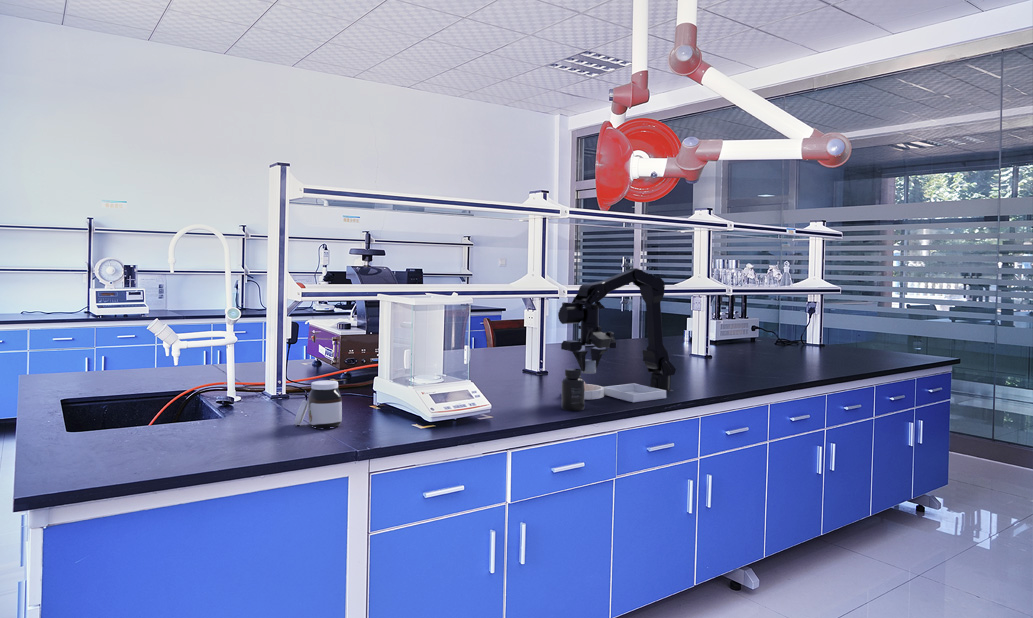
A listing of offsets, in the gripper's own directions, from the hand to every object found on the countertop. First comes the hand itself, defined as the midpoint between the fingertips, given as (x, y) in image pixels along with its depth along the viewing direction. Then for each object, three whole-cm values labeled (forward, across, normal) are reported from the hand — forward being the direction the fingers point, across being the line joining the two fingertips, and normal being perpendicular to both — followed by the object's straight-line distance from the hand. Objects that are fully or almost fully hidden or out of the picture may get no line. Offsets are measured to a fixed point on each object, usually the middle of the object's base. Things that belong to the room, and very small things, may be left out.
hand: (588, 370), depth 215 cm
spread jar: (+9, -86, +6) cm, 87 cm away
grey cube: (+1, 0, 0) cm, 1 cm away
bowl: (+9, 0, +3) cm, 9 cm away
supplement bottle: (+9, -14, -10) cm, 20 cm away
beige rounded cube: (+8, 0, +5) cm, 10 cm away
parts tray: (+9, +14, -6) cm, 18 cm away
